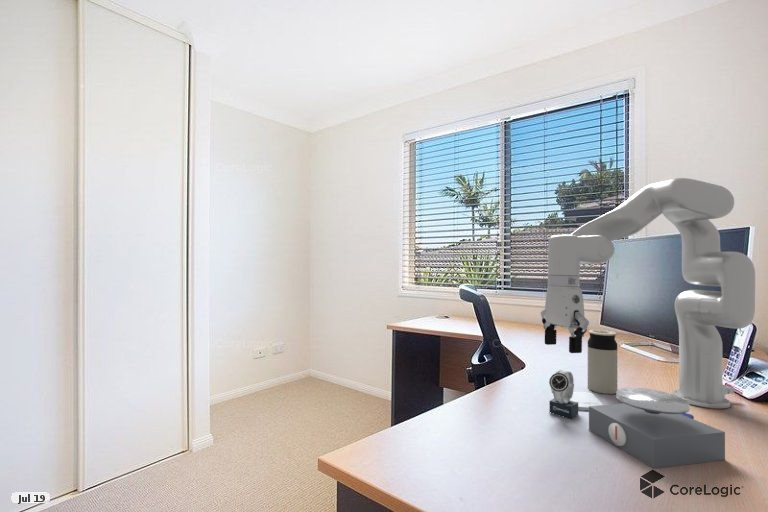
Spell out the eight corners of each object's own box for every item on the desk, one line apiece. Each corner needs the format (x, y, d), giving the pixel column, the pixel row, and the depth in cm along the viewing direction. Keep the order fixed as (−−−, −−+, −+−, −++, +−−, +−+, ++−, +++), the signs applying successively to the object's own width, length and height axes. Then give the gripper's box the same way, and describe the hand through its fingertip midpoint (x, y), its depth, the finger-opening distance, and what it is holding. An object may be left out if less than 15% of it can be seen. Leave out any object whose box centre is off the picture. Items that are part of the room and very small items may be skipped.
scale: (649, 424, 93) (649, 401, 93) (725, 459, 76) (724, 432, 76) (586, 430, 89) (586, 406, 89) (651, 468, 72) (651, 439, 72)
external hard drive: (592, 398, 112) (608, 414, 100) (562, 396, 114) (575, 412, 101) (592, 392, 112) (608, 408, 100) (562, 390, 114) (575, 405, 101)
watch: (546, 414, 98) (546, 371, 98) (559, 406, 103) (559, 366, 103) (568, 421, 94) (568, 376, 94) (581, 413, 99) (581, 370, 99)
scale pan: (649, 398, 90) (649, 386, 90) (706, 421, 78) (706, 406, 78) (602, 402, 88) (602, 389, 88) (653, 426, 75) (653, 411, 75)
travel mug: (589, 392, 115) (589, 332, 115) (586, 384, 122) (586, 328, 123) (619, 396, 112) (619, 335, 112) (614, 388, 119) (614, 330, 120)
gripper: (601, 284, 91) (600, 356, 91) (554, 281, 108) (553, 341, 108) (573, 284, 90) (572, 356, 89) (531, 280, 107) (530, 341, 106)
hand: (562, 348), depth 99 cm, fingers open, 9 cm apart
